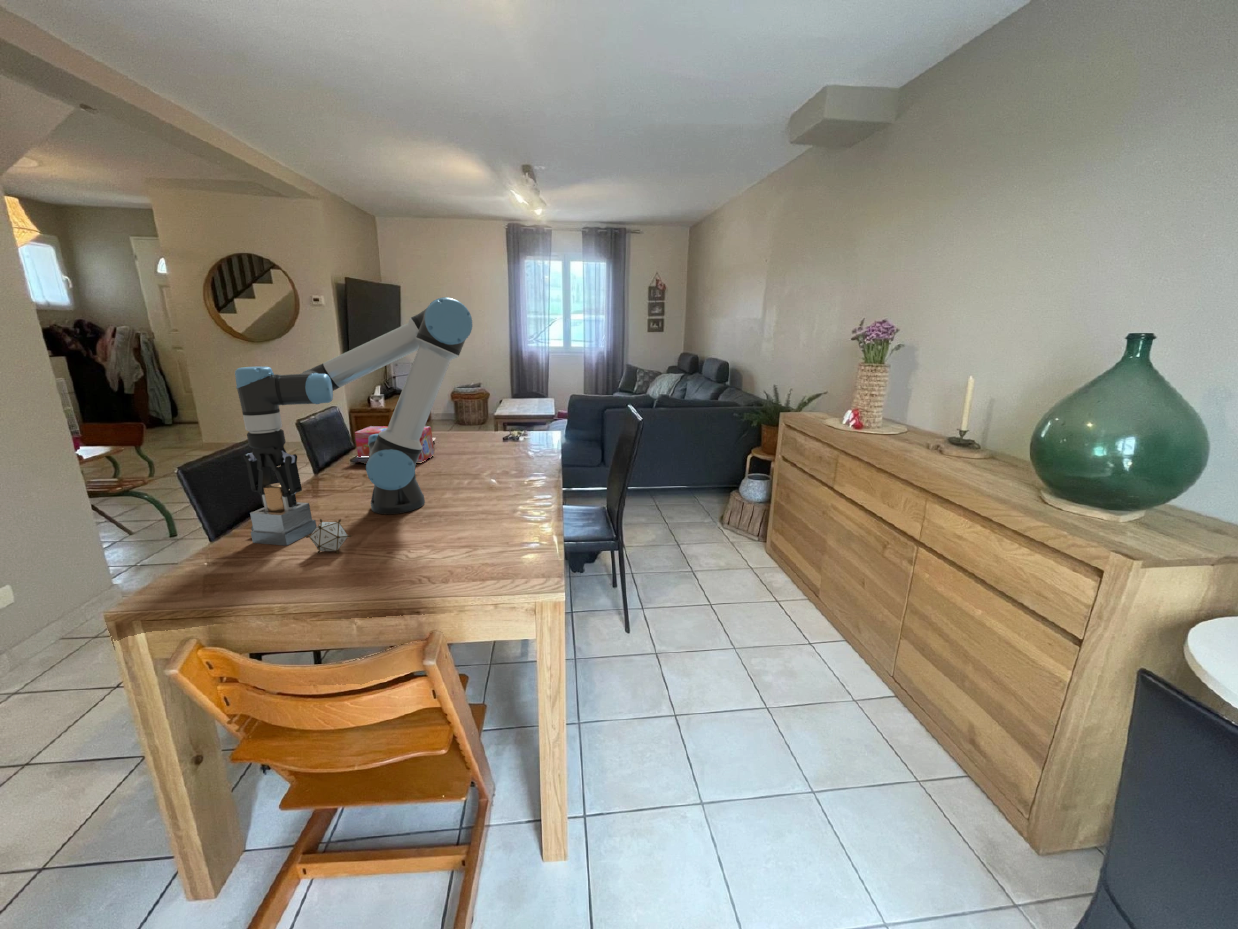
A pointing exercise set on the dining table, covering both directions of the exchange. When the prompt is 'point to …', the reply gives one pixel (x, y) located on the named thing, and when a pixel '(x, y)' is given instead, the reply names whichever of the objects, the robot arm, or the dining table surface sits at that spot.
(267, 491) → the gold metallic cylinder
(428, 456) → the box
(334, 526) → the game die
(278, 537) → the open rectangular container
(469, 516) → the dining table surface
